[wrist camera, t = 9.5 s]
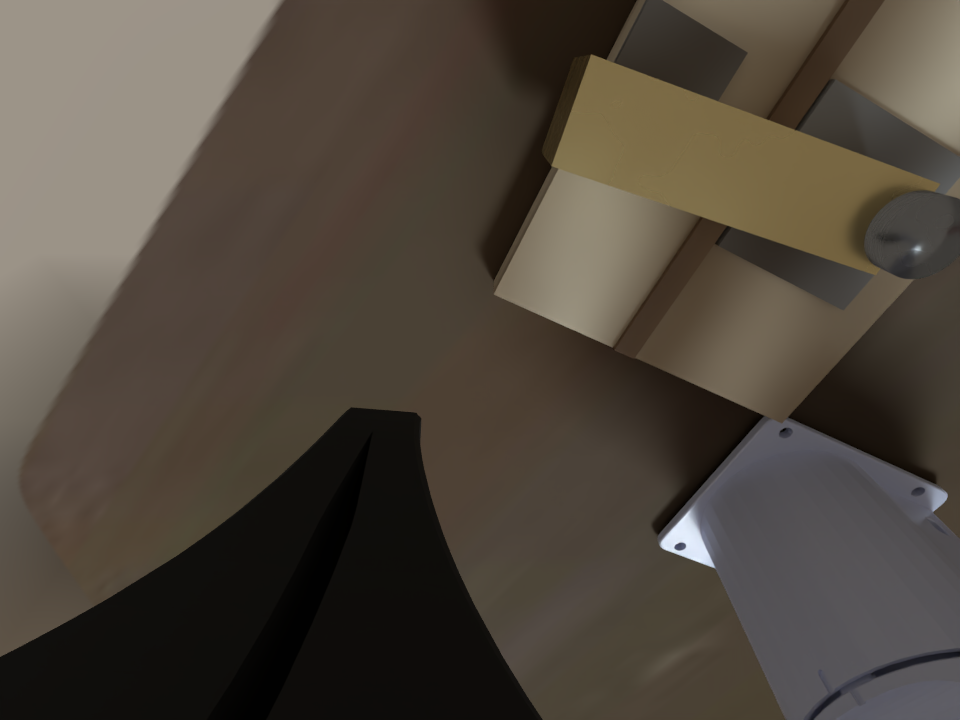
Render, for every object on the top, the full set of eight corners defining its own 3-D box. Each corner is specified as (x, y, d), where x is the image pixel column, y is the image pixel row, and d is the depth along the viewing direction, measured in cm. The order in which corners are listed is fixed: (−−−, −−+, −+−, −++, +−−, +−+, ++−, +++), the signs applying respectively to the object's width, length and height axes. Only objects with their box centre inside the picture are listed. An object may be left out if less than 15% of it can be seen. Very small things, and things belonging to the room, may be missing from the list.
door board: (1401, -316, 12) (1520, -366, 10) (766, 405, 21) (785, 428, 19) (1017, -748, 9) (1106, -885, 8) (493, 281, 18) (493, 297, 17)
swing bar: (897, 177, 15) (999, 202, 12) (845, 255, 16) (928, 296, 13) (573, 57, 14) (597, 52, 11) (540, 151, 15) (554, 171, 12)
